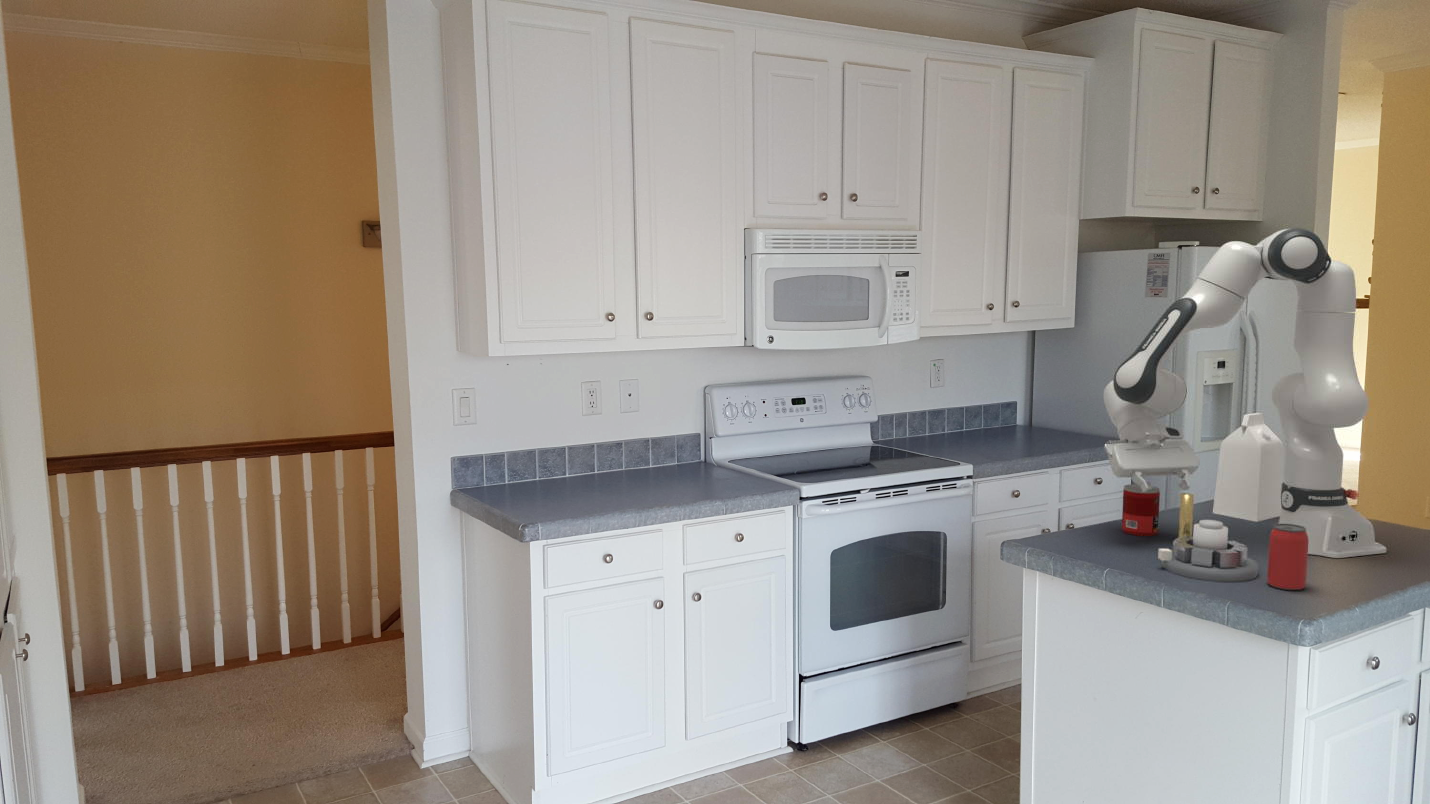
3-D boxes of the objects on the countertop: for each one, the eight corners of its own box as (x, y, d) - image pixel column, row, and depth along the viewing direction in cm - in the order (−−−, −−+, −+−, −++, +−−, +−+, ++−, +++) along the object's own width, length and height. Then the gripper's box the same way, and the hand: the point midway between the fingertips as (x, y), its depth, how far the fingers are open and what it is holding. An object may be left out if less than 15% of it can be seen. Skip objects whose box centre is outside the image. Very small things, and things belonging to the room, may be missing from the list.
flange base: (1222, 555, 219) (1225, 511, 218) (1277, 579, 201) (1280, 531, 200) (1140, 558, 217) (1142, 513, 216) (1188, 583, 199) (1190, 534, 198)
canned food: (1161, 537, 236) (1163, 491, 234) (1125, 535, 237) (1127, 489, 236) (1153, 529, 243) (1155, 484, 242) (1118, 527, 245) (1120, 483, 243)
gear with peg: (1259, 566, 203) (1263, 509, 202) (1197, 568, 202) (1200, 511, 200) (1210, 544, 220) (1212, 492, 218) (1152, 546, 218) (1154, 493, 217)
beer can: (1259, 581, 200) (1263, 523, 199) (1291, 580, 201) (1294, 522, 199) (1280, 591, 194) (1284, 531, 192) (1313, 590, 194) (1317, 530, 193)
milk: (1238, 507, 266) (1244, 410, 263) (1282, 515, 256) (1288, 414, 253) (1212, 512, 259) (1218, 413, 256) (1256, 521, 250) (1262, 418, 247)
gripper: (1107, 432, 227) (1131, 483, 219) (1188, 430, 231) (1214, 479, 223) (1095, 449, 232) (1118, 499, 224) (1174, 446, 236) (1200, 495, 227)
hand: (1167, 489), depth 223 cm, fingers open, 8 cm apart
